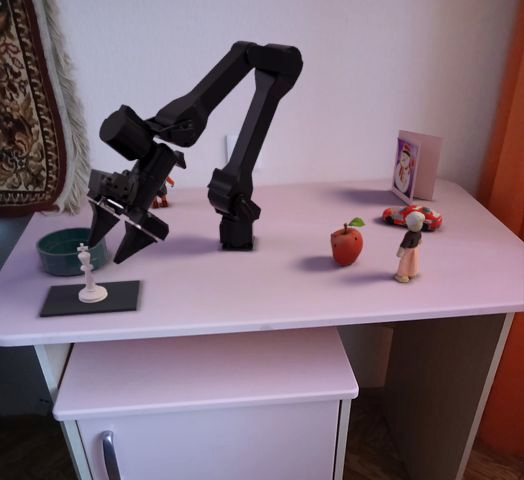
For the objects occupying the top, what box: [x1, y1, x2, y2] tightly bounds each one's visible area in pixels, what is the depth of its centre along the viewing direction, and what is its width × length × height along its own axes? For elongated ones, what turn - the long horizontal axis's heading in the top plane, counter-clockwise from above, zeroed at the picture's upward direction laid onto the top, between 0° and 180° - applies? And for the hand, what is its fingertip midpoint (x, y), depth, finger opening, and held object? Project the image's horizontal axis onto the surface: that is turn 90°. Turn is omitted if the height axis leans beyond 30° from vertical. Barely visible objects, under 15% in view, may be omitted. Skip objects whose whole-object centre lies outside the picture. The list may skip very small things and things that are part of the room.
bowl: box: [35, 226, 110, 276], centre depth 107 cm, size 13×13×4 cm
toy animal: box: [151, 175, 175, 209], centre depth 128 cm, size 8×6×12 cm
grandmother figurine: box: [394, 211, 425, 284], centre depth 98 cm, size 8×4×13 cm, turn 148°
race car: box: [381, 204, 443, 232], centre depth 120 cm, size 13×5×4 cm, turn 60°
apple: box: [329, 216, 366, 267], centre depth 103 cm, size 8×7×10 cm
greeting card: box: [390, 129, 444, 206], centre depth 131 cm, size 11×7×15 cm, turn 14°
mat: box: [39, 279, 141, 318], centre depth 96 cm, size 16×10×1 cm, turn 97°
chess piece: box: [77, 243, 107, 303], centre depth 93 cm, size 5×5×10 cm
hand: (102, 254), depth 93 cm, fingers open, 9 cm apart
